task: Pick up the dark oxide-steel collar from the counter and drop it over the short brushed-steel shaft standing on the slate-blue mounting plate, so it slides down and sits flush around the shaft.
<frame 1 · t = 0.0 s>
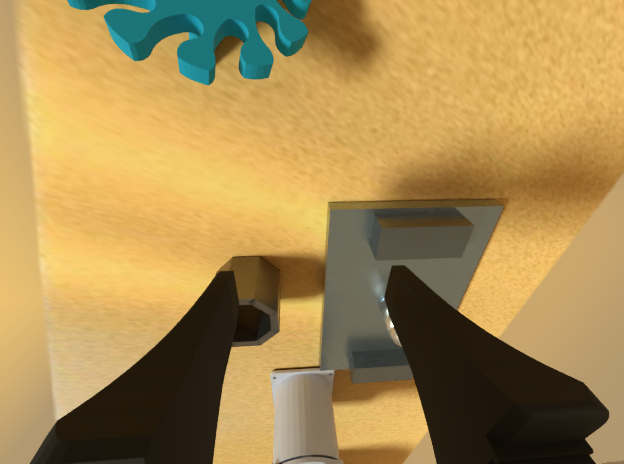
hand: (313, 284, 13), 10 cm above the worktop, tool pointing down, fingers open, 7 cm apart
shaft mount: (389, 296, 28), on the worktop
collar: (249, 280, 26), on the worktop
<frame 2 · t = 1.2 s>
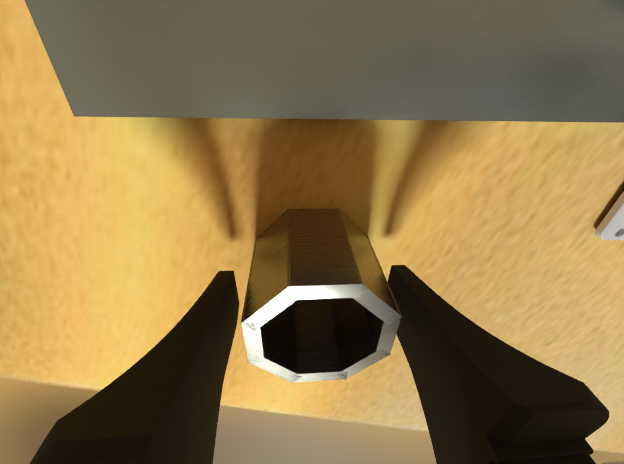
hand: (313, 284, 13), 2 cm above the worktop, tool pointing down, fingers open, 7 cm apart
collar: (311, 256, 14), on the worktop
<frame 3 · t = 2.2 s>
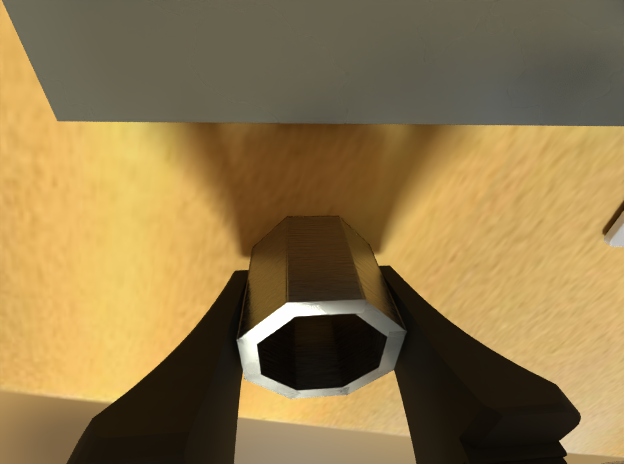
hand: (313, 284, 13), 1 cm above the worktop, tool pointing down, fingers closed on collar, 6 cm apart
collar: (311, 264, 14), on the worktop, touching gripper
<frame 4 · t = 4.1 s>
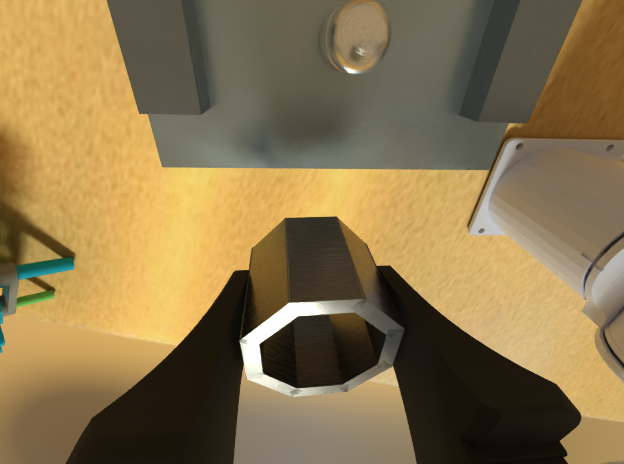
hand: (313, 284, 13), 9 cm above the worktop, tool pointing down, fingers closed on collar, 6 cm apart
shaft mount: (341, 41, 15), on the worktop
collar: (309, 264, 14), point 8 cm above the worktop, touching gripper
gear: (24, 248, 21), on the worktop
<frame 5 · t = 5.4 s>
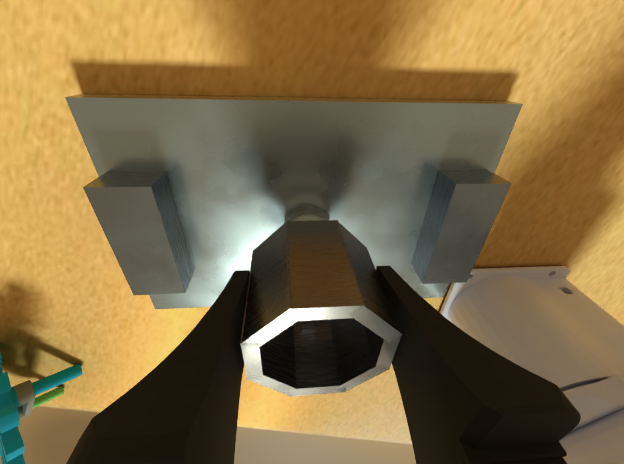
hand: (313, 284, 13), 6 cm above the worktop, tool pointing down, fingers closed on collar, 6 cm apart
shaft mount: (305, 215, 18), on the worktop
collar: (310, 266, 14), point 5 cm above the worktop, touching gripper
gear: (38, 358, 24), on the worktop
when the fingers open (6 cm above the worktop, at t = 6.3 s): collar drops 4 cm, resting on shaft mount.
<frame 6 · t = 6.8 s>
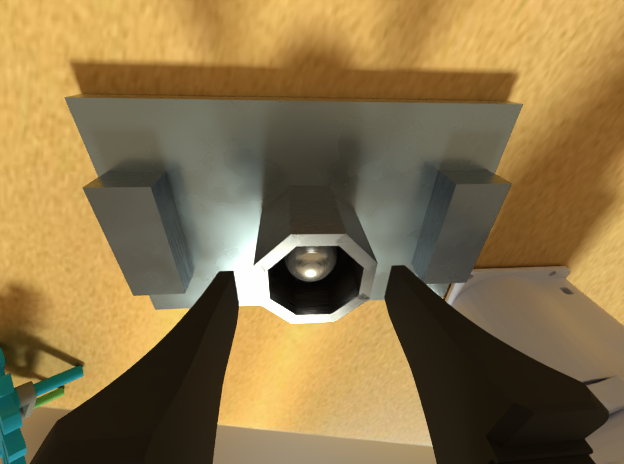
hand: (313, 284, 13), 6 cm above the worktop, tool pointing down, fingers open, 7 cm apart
shaft mount: (305, 215, 18), on the worktop
collar: (308, 227, 17), point 1 cm above the worktop, touching shaft mount
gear: (40, 359, 24), on the worktop
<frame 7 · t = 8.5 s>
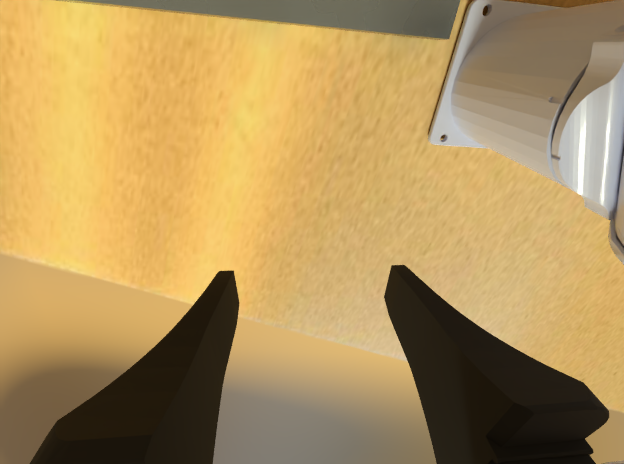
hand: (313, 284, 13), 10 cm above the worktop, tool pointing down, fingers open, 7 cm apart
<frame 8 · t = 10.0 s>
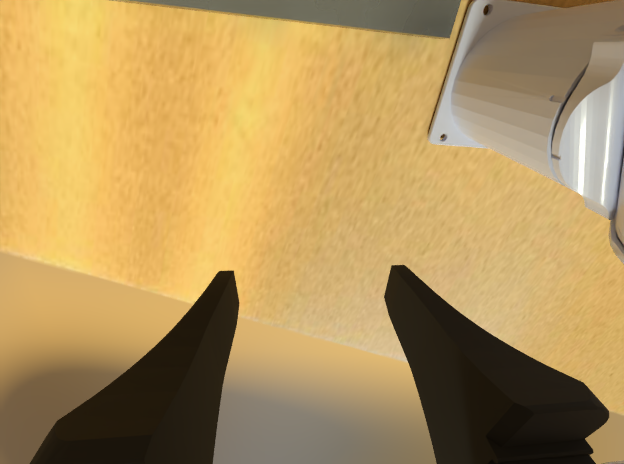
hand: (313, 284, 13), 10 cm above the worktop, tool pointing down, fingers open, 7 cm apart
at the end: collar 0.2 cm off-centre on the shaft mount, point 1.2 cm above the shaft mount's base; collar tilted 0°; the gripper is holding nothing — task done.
